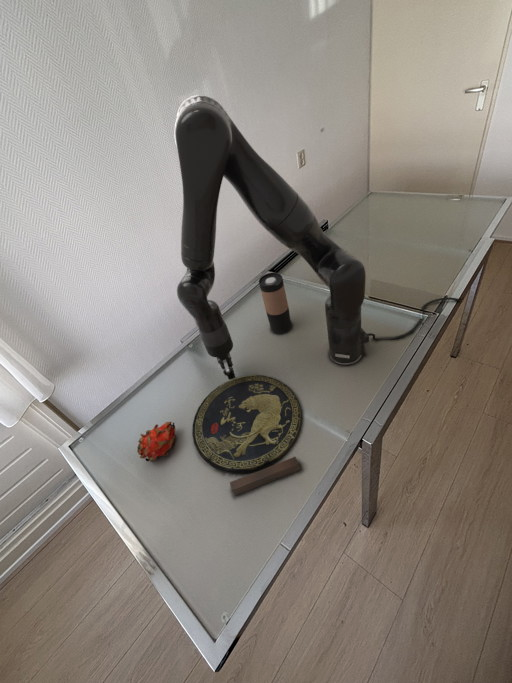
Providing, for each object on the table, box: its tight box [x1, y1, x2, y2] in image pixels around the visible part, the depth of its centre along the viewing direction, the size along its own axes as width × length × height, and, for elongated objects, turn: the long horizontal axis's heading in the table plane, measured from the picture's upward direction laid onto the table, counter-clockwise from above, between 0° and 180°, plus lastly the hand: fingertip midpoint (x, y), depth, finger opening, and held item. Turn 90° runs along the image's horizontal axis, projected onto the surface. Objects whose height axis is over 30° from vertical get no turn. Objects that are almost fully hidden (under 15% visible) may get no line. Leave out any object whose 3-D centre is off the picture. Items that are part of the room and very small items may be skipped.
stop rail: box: [229, 456, 301, 496], centre depth 73 cm, size 16×2×3 cm, turn 106°
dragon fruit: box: [136, 421, 177, 462], centre depth 84 cm, size 8×8×12 cm
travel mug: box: [258, 272, 292, 335], centre depth 105 cm, size 8×8×20 cm
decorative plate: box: [191, 374, 302, 474], centre depth 86 cm, size 30×2×30 cm
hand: (231, 377), depth 98 cm, fingers closed
